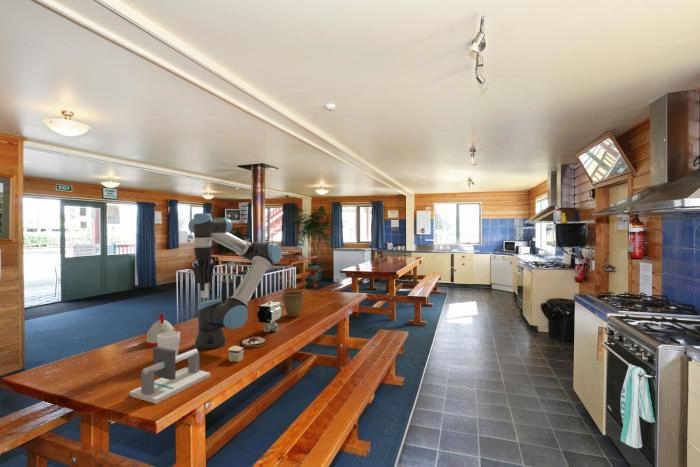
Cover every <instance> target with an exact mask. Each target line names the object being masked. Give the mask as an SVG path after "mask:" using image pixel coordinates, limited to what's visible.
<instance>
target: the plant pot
mask: <svg viewBox="0 0 700 467" xmlns="http://www.w3.org/2000/svg"><path fill="white" fill-rule="evenodd" d="M282 299H283V305H284V308H285V311H286V314H287V316H288V317H290V318H295V317H299V315H300V312H301V309H302V305H303V302H304V292H303V291H286V292H283V293H282Z"/></svg>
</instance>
